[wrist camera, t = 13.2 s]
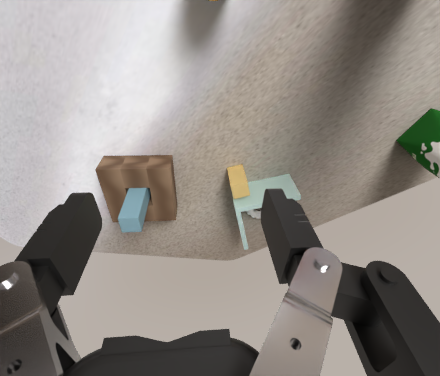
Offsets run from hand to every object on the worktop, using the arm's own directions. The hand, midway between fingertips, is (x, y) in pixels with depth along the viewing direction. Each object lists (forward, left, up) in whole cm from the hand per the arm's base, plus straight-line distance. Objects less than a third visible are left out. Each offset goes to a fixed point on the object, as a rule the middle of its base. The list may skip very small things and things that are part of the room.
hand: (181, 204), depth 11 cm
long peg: (+10, +19, -30) cm, 37 cm away
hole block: (+10, +20, -30) cm, 37 cm away
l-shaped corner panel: (-14, +26, -31) cm, 43 cm away
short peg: (-8, +18, -30) cm, 36 cm away
